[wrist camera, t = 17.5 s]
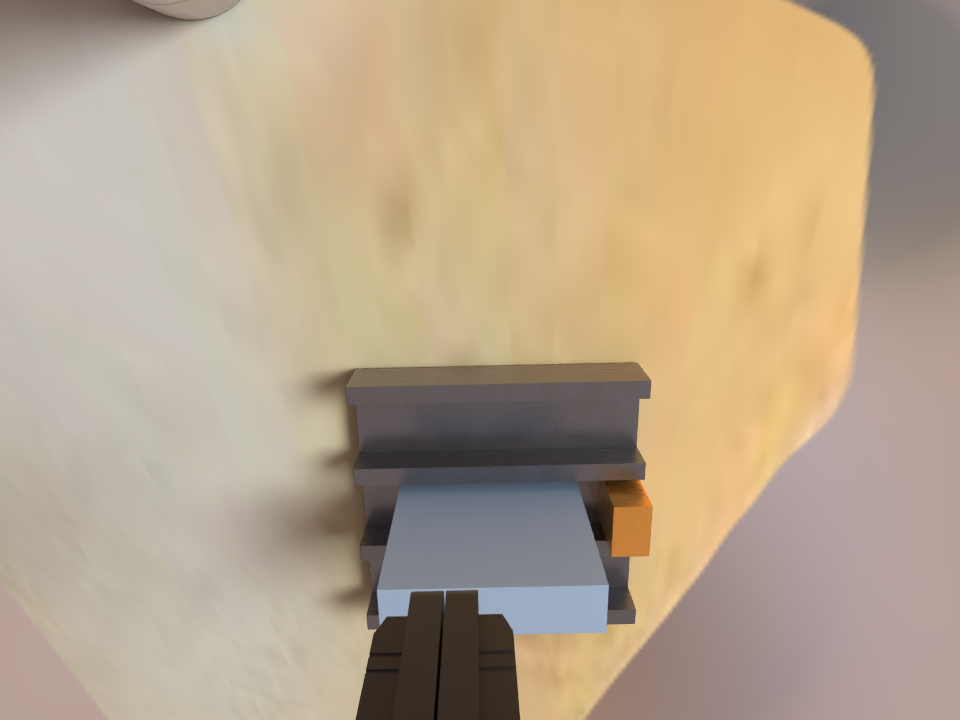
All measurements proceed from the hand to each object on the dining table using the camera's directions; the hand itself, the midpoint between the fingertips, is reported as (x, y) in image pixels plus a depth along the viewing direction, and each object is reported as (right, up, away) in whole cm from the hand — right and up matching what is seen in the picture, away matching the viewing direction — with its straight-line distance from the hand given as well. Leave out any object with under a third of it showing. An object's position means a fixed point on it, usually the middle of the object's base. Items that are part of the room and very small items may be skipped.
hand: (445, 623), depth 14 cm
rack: (+2, -3, +32) cm, 32 cm away
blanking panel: (+1, -4, +31) cm, 31 cm away
